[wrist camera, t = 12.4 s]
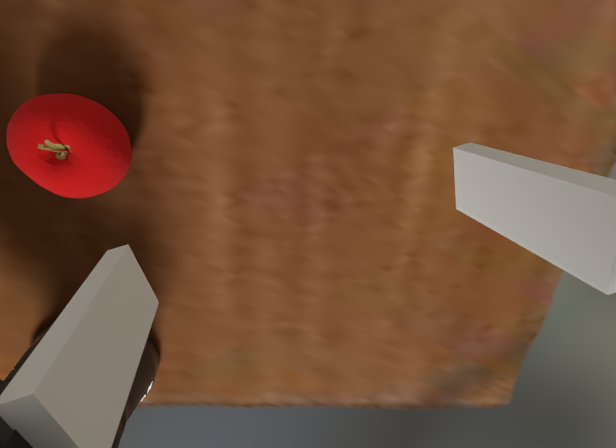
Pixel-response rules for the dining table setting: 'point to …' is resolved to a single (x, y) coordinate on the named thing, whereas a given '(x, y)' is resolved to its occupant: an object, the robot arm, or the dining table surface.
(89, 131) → the fruit
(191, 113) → the dining table surface
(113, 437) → the robot arm
